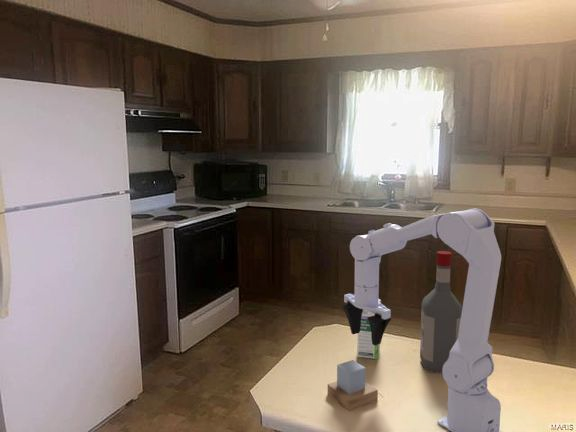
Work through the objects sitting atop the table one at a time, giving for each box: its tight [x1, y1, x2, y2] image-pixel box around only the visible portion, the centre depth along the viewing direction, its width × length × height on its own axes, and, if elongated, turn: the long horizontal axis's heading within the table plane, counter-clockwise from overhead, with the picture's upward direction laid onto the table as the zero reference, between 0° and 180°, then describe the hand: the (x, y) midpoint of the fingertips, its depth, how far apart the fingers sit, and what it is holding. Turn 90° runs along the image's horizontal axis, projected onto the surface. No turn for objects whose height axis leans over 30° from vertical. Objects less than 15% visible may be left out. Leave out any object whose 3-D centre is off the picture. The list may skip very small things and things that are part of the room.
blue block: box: [336, 359, 367, 394], centre depth 104 cm, size 4×4×5 cm
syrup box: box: [356, 309, 381, 360], centre depth 126 cm, size 6×6×14 cm
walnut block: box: [327, 380, 379, 412], centre depth 105 cm, size 8×8×3 cm
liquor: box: [419, 250, 463, 374], centre depth 118 cm, size 9×9×30 cm
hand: (365, 338), depth 112 cm, fingers open, 7 cm apart
